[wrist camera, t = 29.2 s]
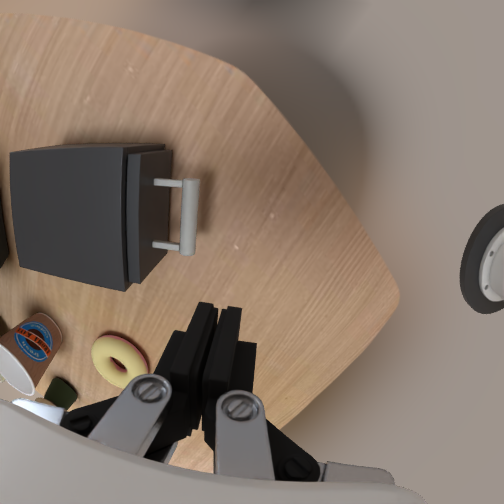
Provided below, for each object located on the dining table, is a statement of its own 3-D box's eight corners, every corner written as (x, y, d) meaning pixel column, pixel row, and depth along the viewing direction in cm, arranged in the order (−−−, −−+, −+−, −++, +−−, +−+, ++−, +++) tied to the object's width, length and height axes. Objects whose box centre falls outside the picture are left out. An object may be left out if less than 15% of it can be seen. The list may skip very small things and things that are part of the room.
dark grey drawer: (212, 153, 28) (191, 157, 21) (203, 258, 32) (184, 291, 25) (71, 149, 29) (27, 156, 21) (73, 238, 33) (36, 261, 25)
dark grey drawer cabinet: (165, 144, 29) (122, 147, 20) (160, 253, 33) (125, 292, 25) (62, 144, 29) (9, 152, 20) (65, 238, 34) (19, 266, 25)
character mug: (53, 363, 44) (19, 407, 32) (82, 384, 45) (52, 431, 33) (52, 389, 47) (24, 429, 35) (78, 407, 48) (53, 449, 36)
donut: (141, 325, 40) (89, 329, 40) (131, 339, 36) (77, 342, 35) (158, 380, 42) (109, 381, 42) (152, 397, 38) (100, 397, 37)
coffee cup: (78, 338, 40) (40, 385, 29) (59, 360, 43) (27, 402, 32) (37, 292, 38) (-9, 331, 27) (22, 320, 41) (-15, 356, 29)
